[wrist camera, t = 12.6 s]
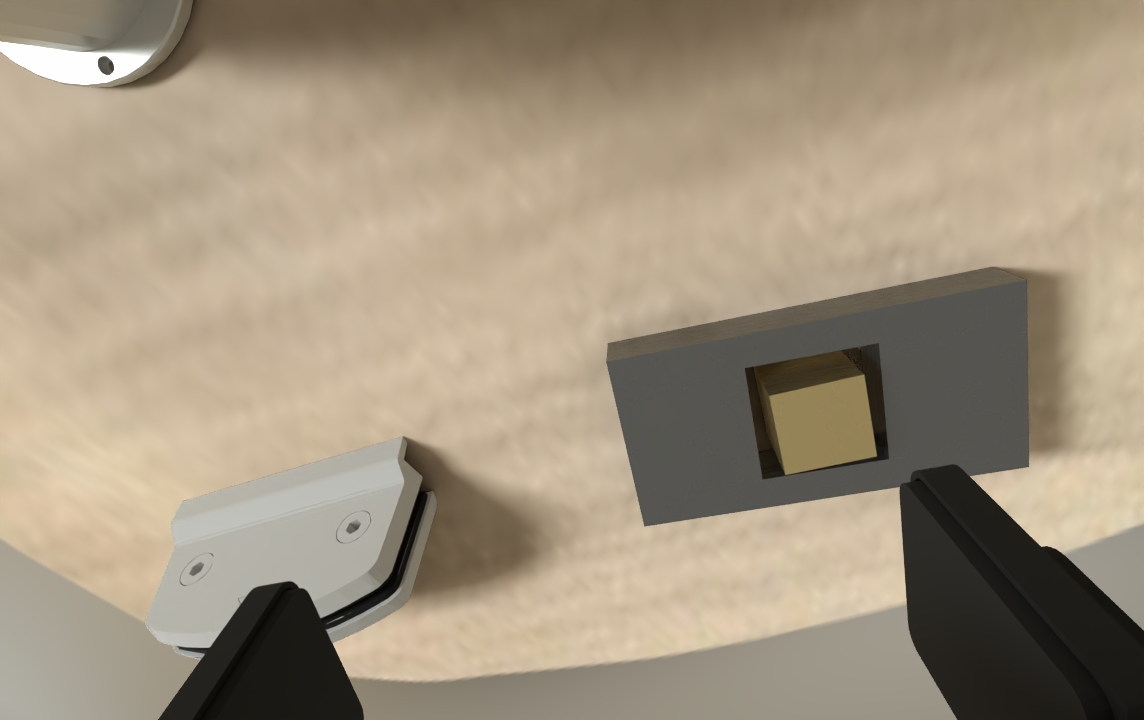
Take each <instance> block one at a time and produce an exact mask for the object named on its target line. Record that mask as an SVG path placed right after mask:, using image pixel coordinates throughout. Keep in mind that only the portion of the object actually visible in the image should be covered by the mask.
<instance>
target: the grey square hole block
mask: <svg viewBox="0 0 1144 720" xmlns="http://www.w3.org/2000/svg"><path fill="white" fill-rule="evenodd" d="M855 347H861V357H862V368H863V374H864V376H865V382H866V389H867V395H868V402H869V408H870V415H871V421H872V428H873V434H874V441H875V447H876V453H877V456H876V457H871V458H866V459H861V460H857V461H852V462H847V463H842V464H837V465H832V466H827V467H822V468H817V469H813V470H808V471H803V472H798V473H793V474H788V475H785V473H784V471H783V468H782V466H781V464H780V462H779V460H778V458H777V455H776V453H775V451H774V450H769V451H763V452H758V448H757V442H756V436H755V429H754V423H753V417H752V411H751V404H750V398H749V392H748V386H747V379H746V373H745V368H748V367H754V366H759V365H764V364H770V363H775V362H780V361H786V360H791V359H796V358H802V357H807V356H812V355H818V354H823V353H828V352H834V351H839V350H844V349H850V348H855ZM606 362H607V366H608V371H609V375H610V379H611V384H612V388H613V392H614V397H615V401H616V405H617V410H618V414H619V418H620V423H621V427H622V431H623V436H624V440H625V444H626V449H627V453H628V457H629V462H630V466H631V470H632V474H633V479H634V483H635V487H636V492H637V496H638V500H639V505H640V509H641V513H642V518H643V522H644V526H650V525H657V524H663V523H670V522H676V521H683V520H689V519H696V518H702V517H709V516H715V515H722V514H728V513H734V512H741V511H747V510H754V509H760V508H767V507H773V506H780V505H786V504H793V503H799V502H806V501H812V500H818V499H825V498H831V497H838V496H844V495H851V494H857V493H864V492H870V491H877V490H883V489H890V488H896V487H900V486H901V484H902V483H907V482H910V478H911V474H912V473H913V472H914V471H917V470H922V469H928V468H934V467H939V466H945V465H951V464H955V465H958V466H959V467H960V468H962V469H963V470H964V471H965V472H966V473H967V474H968V475H969V476H974V475H980V474H986V473H993V472H999V471H1006V470H1012V469H1019V468H1025V467H1029V430H1028V350H1027V280H1026V279H1023V278H1021V277H1018V276H1015V275H1013V274H1010V273H1008V272H1005V271H1002V270H1000V269H997V268H994V267H989V268H984V269H979V270H974V271H969V272H964V273H959V274H954V275H949V276H944V277H939V278H934V279H929V280H924V281H919V282H914V283H909V284H904V285H899V286H894V287H889V288H884V289H879V290H874V291H868V292H863V293H858V294H853V295H848V296H843V297H838V298H833V299H828V300H823V301H818V302H813V303H808V304H803V305H798V306H793V307H788V308H783V309H778V310H773V311H768V312H763V313H758V314H753V315H748V316H743V317H738V318H733V319H728V320H723V321H718V322H713V323H708V324H703V325H698V326H693V327H688V328H683V329H678V330H673V331H668V332H663V333H657V334H652V335H647V336H642V337H637V338H632V339H627V340H622V341H617V342H612V343H608V349H607V361H606Z"/></svg>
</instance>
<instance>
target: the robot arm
mask: <svg viewBox="0 0 1144 720" xmlns="http://www.w3.org/2000/svg"><path fill="white" fill-rule="evenodd" d="M192 4H193V0H0V52H1V53H3V54H4V55H5V56H7V57H8V58H9V59H11V60H12V61H13V62H15V63H16V64H17V65H19V66H21V67H23V68H25V69H27V70H29V71H31V72H33V73H34V74H36V75H38V76H40V77H43V78H46V79H49V80H52V81H56V82H59V83H62V84H67V85H75V86H84V87H113V86H117V85H122V84H126V83H130V82H133V81H135V80H137V79H139V78H141V77H143V76H145V75H147V74H149V73H150V72H152V71H153V70H154V69H155V68H156V67H157V66H159V65H160V64H161V63H162V62H163V61H164V60H166V59H167V57H168V56H169V55H170V53H171V52H172V50H173V49H174V48H175V46H176V45H177V43H178V42H179V41H180V39H181V36H182V34H183V32H184V29H185V27H186V25H187V23H188V20H189V18H190V13H191V9H192ZM900 506H901V521H902V537H903V552H904V567H905V582H906V598H907V612H908V625H909V631H910V635H911V638H912V641H913V643H914V646H915V648H916V650H917V652H918V654H919V656H920V657H921V659H922V661H923V662H924V664H925V666H926V667H927V669H928V670H929V672H930V674H931V676H932V677H933V679H934V681H935V682H936V684H937V686H938V688H939V689H940V691H941V693H942V694H943V696H944V698H945V700H946V701H947V703H948V705H949V706H950V708H951V710H952V711H953V713H954V715H955V716H956V718H957V720H1144V631H1143V630H1142V629H1141V628H1140V627H1139V626H1138V625H1137V624H1136V623H1135V622H1134V621H1133V620H1132V619H1131V618H1130V617H1129V616H1128V615H1127V614H1126V613H1125V612H1124V611H1123V610H1121V609H1120V608H1119V607H1118V606H1117V605H1116V604H1115V603H1114V602H1113V601H1112V600H1111V599H1110V598H1109V597H1108V596H1107V595H1106V594H1104V592H1103V591H1102V590H1100V589H1099V588H1098V587H1097V586H1096V585H1095V584H1094V583H1093V582H1092V581H1091V580H1090V579H1089V578H1088V577H1087V576H1086V575H1085V574H1084V573H1083V572H1082V571H1081V570H1080V569H1078V568H1077V567H1076V566H1075V565H1074V564H1073V563H1072V562H1071V561H1070V560H1069V559H1068V558H1067V557H1066V556H1065V555H1063V554H1062V553H1061V552H1059V551H1058V550H1057V549H1054V548H1051V547H1048V546H1045V547H1041V546H1040V545H1039V544H1038V543H1037V542H1036V541H1035V540H1034V539H1033V538H1032V537H1030V536H1029V535H1028V534H1027V533H1026V532H1025V531H1024V530H1023V529H1022V528H1021V527H1020V526H1019V525H1018V524H1017V523H1016V522H1015V521H1014V520H1013V519H1012V518H1011V517H1010V516H1009V515H1008V514H1007V513H1006V512H1005V511H1004V510H1003V509H1002V508H1001V507H1000V506H999V505H998V504H997V503H996V502H995V501H994V500H993V499H992V498H991V497H990V496H989V495H988V494H987V493H986V492H985V491H984V490H983V489H982V488H981V487H980V486H979V485H978V484H977V483H976V482H975V481H974V480H973V479H972V478H971V477H970V476H969V475H968V474H967V473H966V472H965V471H964V470H963V469H962V468H960V467H959V466H958V465H955V464H951V465H945V466H939V467H934V468H928V469H922V470H917V471H914V472H913V473H912V474H911V478H910V482H907V483H902V484H901V486H900ZM158 720H364V715H363V709H362V706H361V704H360V702H359V699H358V697H357V695H356V693H355V691H354V689H353V687H352V684H351V682H350V680H349V678H348V676H347V674H346V671H345V669H344V667H343V665H342V663H341V661H340V659H339V656H338V654H337V652H336V650H335V648H334V646H333V644H332V641H331V639H330V637H329V635H328V633H327V631H326V629H325V626H324V624H323V622H322V620H321V618H320V616H319V614H318V611H317V609H316V607H315V605H314V603H313V601H312V599H311V596H310V595H309V593H308V591H307V590H305V589H303V588H299V587H298V585H297V584H295V583H294V582H292V581H286V582H280V583H274V584H268V585H263V586H258V587H255V588H253V589H252V590H251V591H250V592H249V593H248V595H247V596H246V598H245V599H244V600H243V602H242V603H241V605H240V606H239V607H238V609H237V610H236V612H235V613H234V614H233V616H232V617H231V619H230V620H229V621H228V623H227V624H226V626H225V627H224V628H223V630H222V631H221V632H220V634H219V635H218V637H217V638H216V639H215V641H214V642H213V644H212V645H211V646H210V648H209V649H208V651H207V652H206V653H205V655H204V656H203V658H202V659H201V660H200V662H199V663H198V665H197V666H196V667H195V669H194V670H193V672H192V673H191V674H190V676H189V677H188V679H187V680H186V681H185V683H184V684H183V686H182V687H181V688H180V690H179V691H178V693H177V694H176V695H175V697H174V698H173V700H172V701H171V702H170V704H169V705H168V707H167V708H166V709H165V711H164V712H163V714H162V715H161V716H160V718H159V719H158Z"/></svg>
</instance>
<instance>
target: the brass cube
mask: <svg viewBox="0 0 1144 720" xmlns="http://www.w3.org/2000/svg"><path fill="white" fill-rule="evenodd" d="M753 369H754V374H755V378H756V383H757V388H758V393H759V397H760V402H761V407H762V411H763V416H764V421H765V426H766V430H767V435H768V438H769V440H770V442H771V444H772V447H773V449H774V451H775V453H776V455H777V458H778V460H779V462H780V464H781V466H782V468H783V471H784V473H785V475H788V474H793V473H798V472H803V471H808V470H813V469H817V468H822V467H827V466H832V465H837V464H842V463H847V462H852V461H857V460H861V459H866V458H871V457H876V456H877V453H876V447H875V441H874V434H873V428H872V421H871V415H870V408H869V402H868V395H867V389H866V382H865V376H864V374H863V373H862V372H861V371H860V370H859V369H858V367H857V366H856V365H855V364H854V363H853V362H852V361H851V360H850V359H849V358H848V357H847V356H846V355H845V354H844V353H843V352H842V351H841V350H839V351H834V352H828V353H823V354H818V355H812V356H807V357H802V358H796V359H791V360H786V361H780V362H775V363H770V364H764V365H759V366H754V367H753Z"/></svg>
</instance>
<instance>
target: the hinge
mask: <svg viewBox="0 0 1144 720" xmlns="http://www.w3.org/2000/svg"><path fill="white" fill-rule="evenodd" d="M406 448H407V441H406V440H405V438H404V437H399V438H396V439H392V440H389V441H386V442H382V443H379V444H375V445H372V446H369V447H365V448H362V449H358V450H355V451H352V452H348V453H345V454H341V455H338V456H335V457H331V458H328V459H324V460H321V461H318V462H314V463H311V464H307V465H304V466H301V467H297V468H294V469H290V470H287V471H284V472H280V473H277V474H273V475H270V476H267V477H263V478H260V479H256V480H253V481H250V482H246V483H243V484H239V485H236V486H233V487H229V488H226V489H222V490H219V491H216V492H212V493H209V494H205V495H202V496H199V497H195V498H192V499H188V500H185V501H182V503H181V505H180V506H179V508H178V510H177V512H176V514H175V516H174V517H173V519H172V521H171V530H172V534H173V539H174V544H175V546H174V550H173V552H172V555H171V557H170V560H169V562H168V565H167V567H166V570H165V572H164V575H163V577H162V580H161V582H160V585H159V587H158V590H157V592H156V595H155V597H154V600H153V602H152V605H151V607H150V610H149V612H148V615H147V617H146V622H145V624H146V627H147V628H148V629H149V630H150V631H151V633H152V634H153V635H154V636H155V637H156V638H157V640H158V641H160V642H161V643H165V644H169V645H173V649H174V651H175V652H176V653H177V654H180V655H184V656H187V657H191V658H194V659H198V660H201V659H202V658H203V656H204V655H205V653H206V652H207V651H208V649H209V648H210V646H211V645H212V644H213V642H214V641H215V639H216V638H217V637H218V635H219V634H220V632H221V631H222V630H223V628H224V627H225V626H226V624H227V623H228V621H229V620H230V619H231V617H232V616H233V614H234V613H235V612H236V610H237V609H238V607H239V606H240V605H241V603H242V602H243V600H244V599H245V598H246V596H247V595H248V593H249V592H250V591H251V590H252V589H253V588H255V587H258V586H263V585H268V584H274V583H280V582H286V581H292V582H294V583H295V584H297V585H298V587H299V588H303V589H305V590H307V591H308V593H309V595H310V596H311V599H312V601H313V603H314V605H315V607H316V609H317V611H318V614H319V616H320V618H321V620H322V622H323V624H324V626H325V629H326V631H327V633H328V635H329V637H330V639H331V641H332V643H334V642H336V641H339V640H341V639H343V638H345V637H348V636H350V635H352V634H354V633H356V632H359V631H361V630H363V629H364V628H366V627H368V626H370V625H372V624H374V623H376V622H378V621H380V620H381V619H383V618H385V617H386V616H388V615H390V614H391V613H393V612H395V611H396V610H398V609H400V608H401V607H402V606H403V605H404V604H405V603H406V602H407V601H408V599H409V598H410V596H411V593H412V589H413V586H414V583H415V579H416V576H417V573H418V569H419V566H420V562H421V559H422V556H423V552H424V549H425V546H426V542H427V539H428V536H429V532H430V529H431V525H432V522H433V519H434V515H435V512H436V509H437V499H436V497H435V494H434V492H433V491H430V492H425V491H423V492H420V489H421V486H420V485H421V482H422V479H423V477H422V476H421V475H420V474H419V473H418V472H417V471H415V470H414V469H413V468H412V467H411V466H410V465H409V464H408V463H407V462H406V461H404V457H405V452H406ZM419 492H420V493H419Z"/></svg>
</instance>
